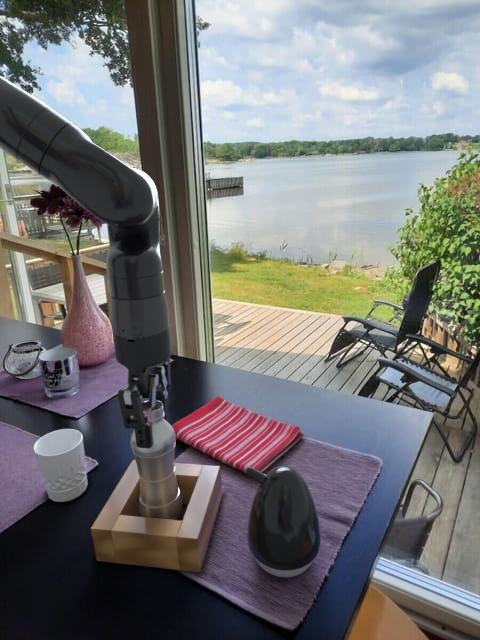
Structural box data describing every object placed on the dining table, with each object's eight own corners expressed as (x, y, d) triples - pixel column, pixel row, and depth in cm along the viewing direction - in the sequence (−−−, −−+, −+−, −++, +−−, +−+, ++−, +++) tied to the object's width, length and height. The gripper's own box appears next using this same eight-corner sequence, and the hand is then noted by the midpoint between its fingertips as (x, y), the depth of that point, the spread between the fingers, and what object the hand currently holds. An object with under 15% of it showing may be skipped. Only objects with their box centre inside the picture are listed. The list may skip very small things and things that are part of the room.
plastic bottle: (191, 521, 69) (181, 407, 62) (150, 541, 65) (136, 423, 59) (172, 497, 74) (162, 390, 67) (134, 515, 70) (119, 404, 64)
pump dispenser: (261, 523, 69) (259, 441, 65) (326, 542, 66) (329, 456, 61) (235, 576, 61) (231, 486, 56) (309, 601, 57) (312, 506, 52)
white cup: (70, 509, 74) (60, 459, 71) (34, 499, 77) (22, 450, 73) (100, 479, 81) (92, 432, 78) (65, 471, 84) (56, 425, 80)
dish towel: (219, 403, 105) (218, 393, 105) (305, 436, 91) (305, 425, 90) (165, 437, 93) (164, 426, 92) (255, 481, 79) (254, 469, 78)
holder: (96, 561, 64) (90, 528, 62) (136, 487, 78) (132, 459, 76) (200, 572, 61) (197, 539, 59) (222, 495, 76) (220, 465, 74)
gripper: (135, 308, 66) (146, 407, 72) (89, 344, 53) (107, 462, 58) (183, 309, 65) (190, 409, 70) (149, 346, 52) (161, 467, 57)
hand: (153, 433), depth 64 cm, fingers closed on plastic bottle, 6 cm apart
